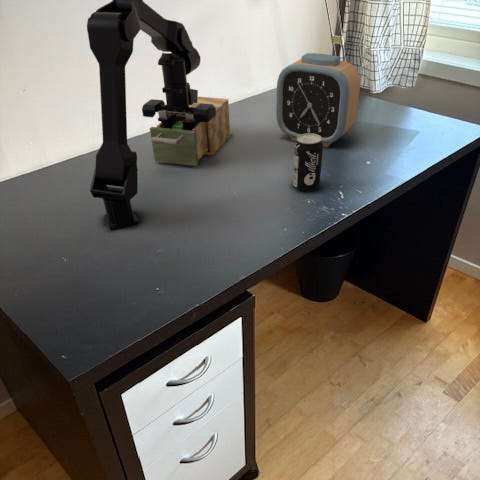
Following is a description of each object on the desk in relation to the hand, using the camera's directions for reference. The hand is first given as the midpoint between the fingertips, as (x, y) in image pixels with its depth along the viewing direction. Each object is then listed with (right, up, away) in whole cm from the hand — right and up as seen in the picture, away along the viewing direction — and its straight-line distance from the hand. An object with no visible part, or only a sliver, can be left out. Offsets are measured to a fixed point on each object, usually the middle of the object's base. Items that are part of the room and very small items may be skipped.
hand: (182, 143), depth 129 cm
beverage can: (+32, -15, -12) cm, 37 cm away
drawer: (0, -3, +2) cm, 4 cm away
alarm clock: (+37, +5, +10) cm, 39 cm away
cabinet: (+4, +4, +11) cm, 12 cm away
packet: (0, -1, +1) cm, 1 cm away
